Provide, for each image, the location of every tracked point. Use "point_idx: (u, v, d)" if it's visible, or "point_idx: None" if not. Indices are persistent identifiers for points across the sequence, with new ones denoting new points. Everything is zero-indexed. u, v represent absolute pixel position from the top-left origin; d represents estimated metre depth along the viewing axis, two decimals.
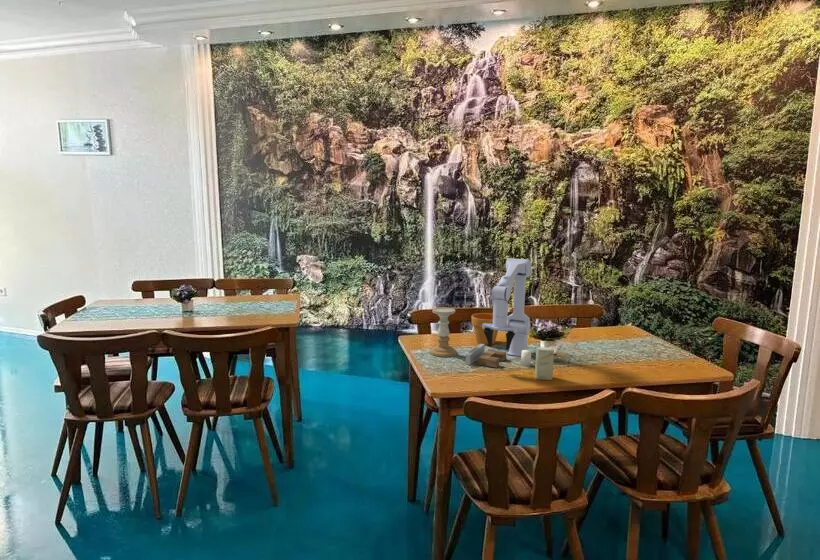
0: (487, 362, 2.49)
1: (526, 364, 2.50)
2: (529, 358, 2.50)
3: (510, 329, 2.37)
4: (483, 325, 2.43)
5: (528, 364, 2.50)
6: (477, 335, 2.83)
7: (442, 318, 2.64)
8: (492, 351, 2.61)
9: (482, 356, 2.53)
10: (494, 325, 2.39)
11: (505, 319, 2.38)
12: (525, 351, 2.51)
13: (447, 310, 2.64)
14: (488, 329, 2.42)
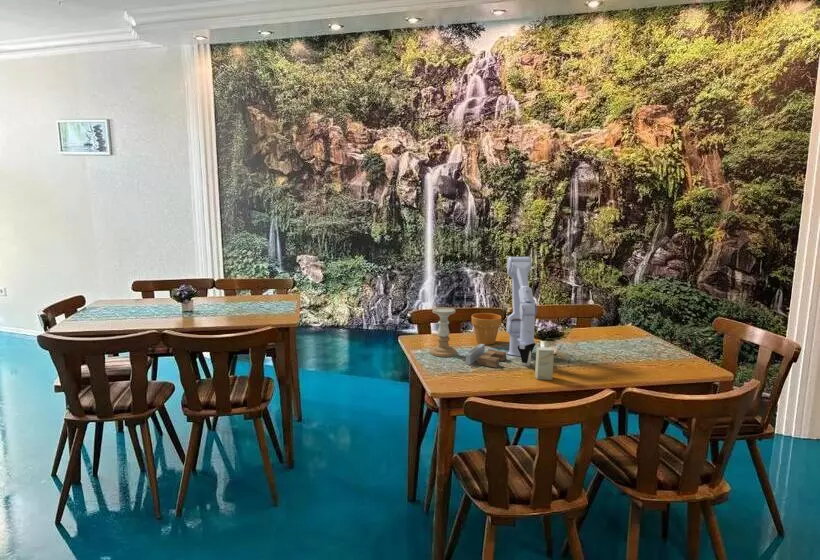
0: (487, 362, 2.49)
1: (526, 364, 2.50)
2: (529, 358, 2.50)
3: (520, 344, 2.47)
4: None
5: (528, 364, 2.50)
6: (477, 335, 2.83)
7: (442, 318, 2.64)
8: (492, 351, 2.61)
9: (482, 356, 2.53)
10: None
11: (523, 333, 2.48)
12: None
13: (447, 310, 2.64)
14: None
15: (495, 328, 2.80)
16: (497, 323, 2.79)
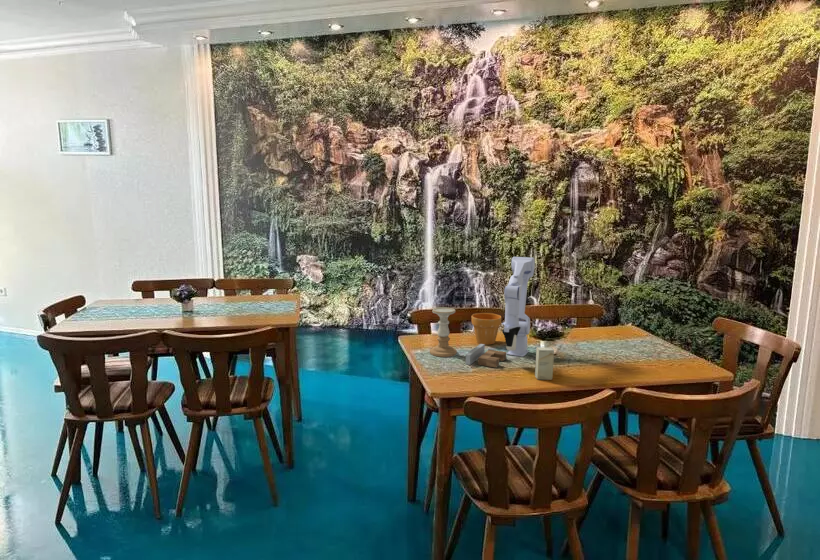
0: (487, 362, 2.49)
1: (511, 348, 2.49)
2: (514, 342, 2.49)
3: (504, 327, 2.46)
4: None
5: (513, 348, 2.49)
6: (477, 335, 2.83)
7: (442, 318, 2.64)
8: (492, 351, 2.61)
9: (482, 356, 2.53)
10: None
11: (507, 317, 2.47)
12: None
13: (447, 310, 2.64)
14: None
15: (495, 328, 2.80)
16: (497, 323, 2.79)
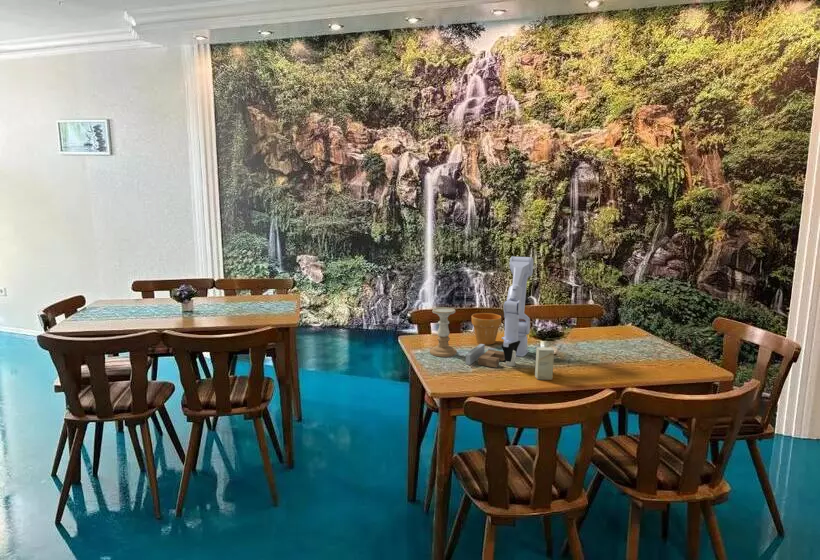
0: (487, 362, 2.49)
1: (511, 364, 2.50)
2: (514, 358, 2.50)
3: (504, 342, 2.47)
4: None
5: (513, 364, 2.50)
6: (477, 335, 2.83)
7: (442, 318, 2.64)
8: (492, 351, 2.61)
9: (482, 356, 2.53)
10: None
11: (507, 331, 2.48)
12: None
13: (447, 310, 2.64)
14: None
15: (495, 328, 2.80)
16: (497, 323, 2.79)
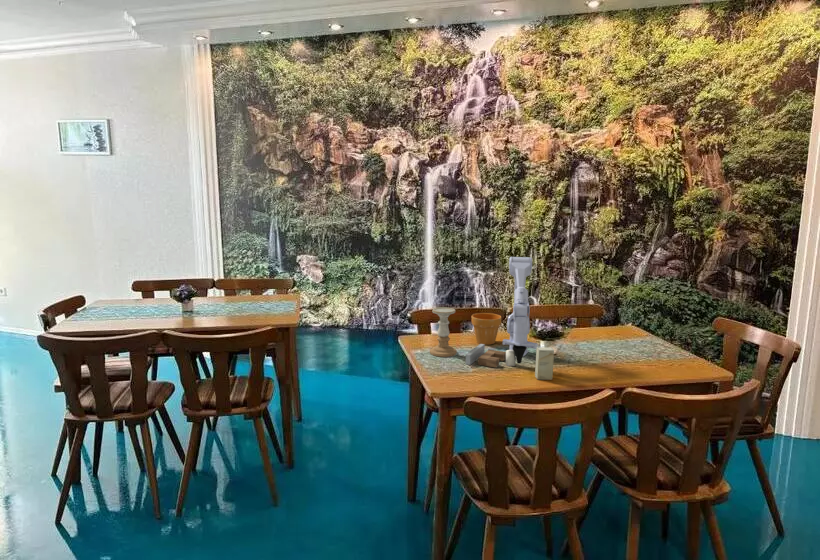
0: (487, 362, 2.49)
1: (511, 364, 2.50)
2: (514, 358, 2.50)
3: (531, 345, 2.45)
4: (504, 341, 2.51)
5: (513, 364, 2.50)
6: (477, 335, 2.83)
7: (442, 318, 2.64)
8: (492, 351, 2.61)
9: (482, 356, 2.53)
10: (515, 341, 2.47)
11: (525, 335, 2.46)
12: (509, 351, 2.51)
13: (447, 310, 2.64)
14: None
15: (495, 328, 2.80)
16: (497, 323, 2.79)
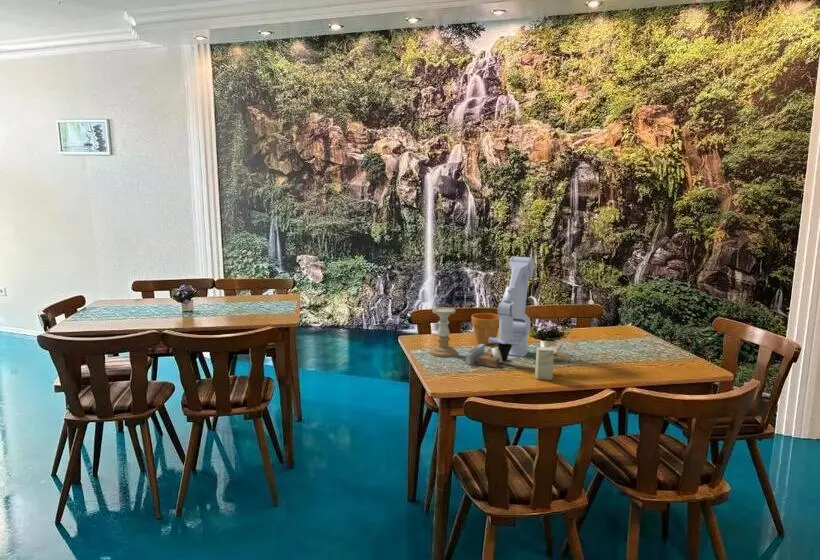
0: (487, 362, 2.49)
1: (499, 360, 2.52)
2: (500, 354, 2.53)
3: (516, 343, 2.48)
4: (489, 339, 2.54)
5: (501, 360, 2.53)
6: (477, 335, 2.83)
7: (442, 318, 2.64)
8: None
9: (482, 356, 2.53)
10: (500, 339, 2.50)
11: (511, 333, 2.49)
12: (495, 348, 2.54)
13: (447, 310, 2.64)
14: None
15: (495, 328, 2.80)
16: (497, 323, 2.79)
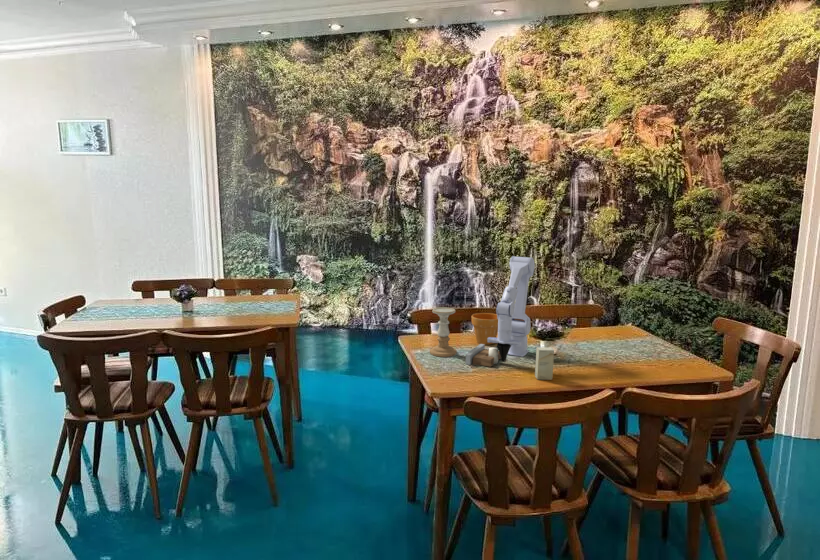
0: (482, 361, 2.50)
1: None
2: (496, 355, 2.54)
3: (514, 343, 2.48)
4: (488, 339, 2.54)
5: (495, 361, 2.54)
6: (477, 335, 2.83)
7: (442, 318, 2.64)
8: (487, 350, 2.62)
9: (477, 356, 2.54)
10: (499, 339, 2.50)
11: (509, 333, 2.49)
12: (492, 349, 2.54)
13: (447, 310, 2.64)
14: None
15: (495, 328, 2.80)
16: (497, 323, 2.79)
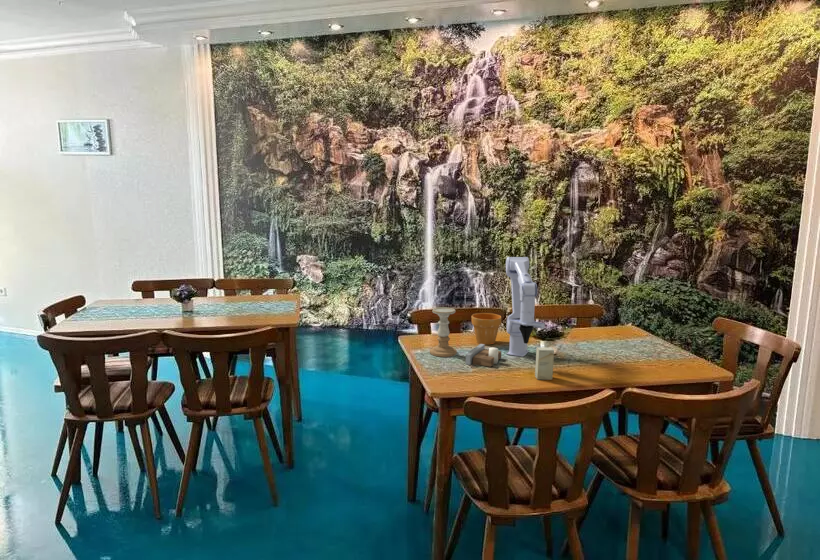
0: (482, 361, 2.50)
1: None
2: (496, 355, 2.54)
3: (538, 325, 2.45)
4: (510, 321, 2.50)
5: (495, 361, 2.54)
6: (477, 335, 2.83)
7: (442, 318, 2.64)
8: (487, 350, 2.62)
9: (477, 356, 2.54)
10: (522, 321, 2.47)
11: (532, 315, 2.46)
12: (492, 349, 2.54)
13: (447, 310, 2.64)
14: (515, 325, 2.50)
15: (495, 328, 2.80)
16: (497, 323, 2.79)
